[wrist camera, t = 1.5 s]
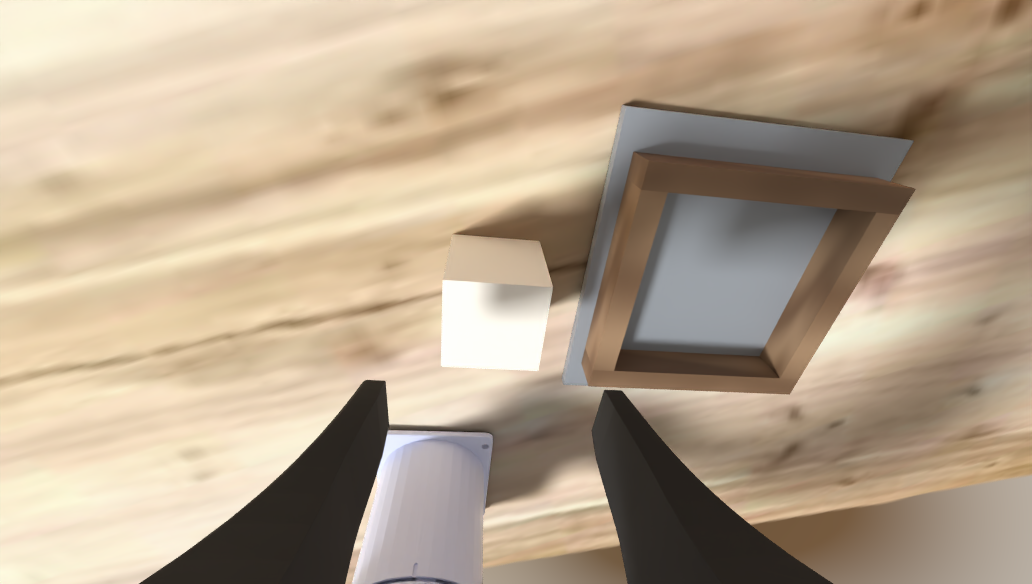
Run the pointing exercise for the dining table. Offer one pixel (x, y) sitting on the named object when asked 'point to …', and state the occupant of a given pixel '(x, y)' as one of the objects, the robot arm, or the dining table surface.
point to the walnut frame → (808, 312)
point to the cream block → (494, 303)
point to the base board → (719, 233)
